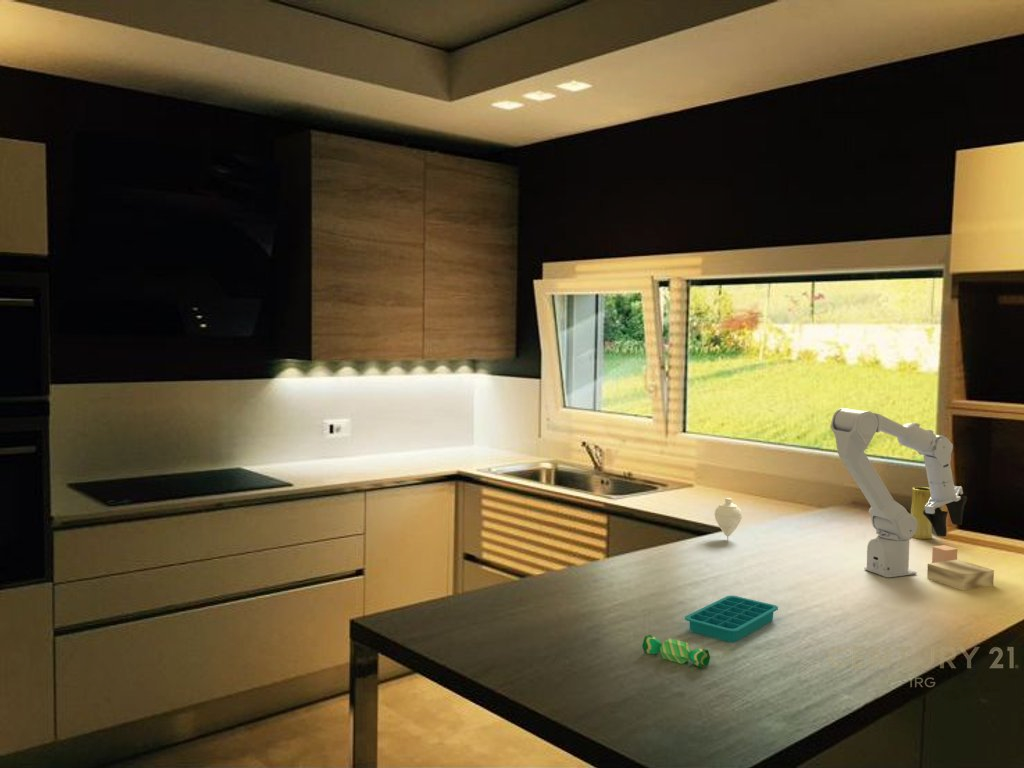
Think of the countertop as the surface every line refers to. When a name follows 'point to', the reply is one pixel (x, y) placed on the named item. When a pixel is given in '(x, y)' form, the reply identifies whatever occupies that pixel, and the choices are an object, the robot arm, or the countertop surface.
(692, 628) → the ice cube tray
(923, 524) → the vase
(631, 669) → the countertop surface
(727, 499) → the spinning top
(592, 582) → the countertop surface
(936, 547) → the terracotta block
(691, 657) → the candy
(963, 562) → the beech block
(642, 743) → the countertop surface
